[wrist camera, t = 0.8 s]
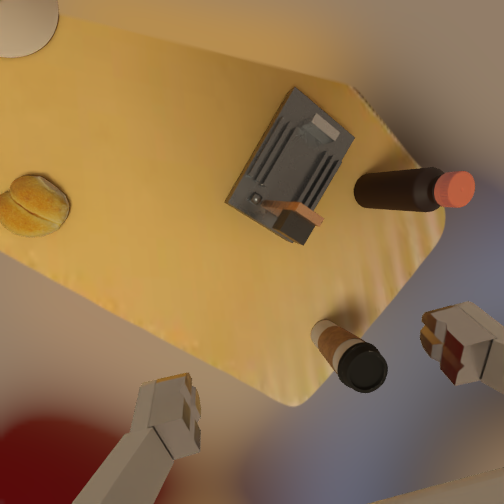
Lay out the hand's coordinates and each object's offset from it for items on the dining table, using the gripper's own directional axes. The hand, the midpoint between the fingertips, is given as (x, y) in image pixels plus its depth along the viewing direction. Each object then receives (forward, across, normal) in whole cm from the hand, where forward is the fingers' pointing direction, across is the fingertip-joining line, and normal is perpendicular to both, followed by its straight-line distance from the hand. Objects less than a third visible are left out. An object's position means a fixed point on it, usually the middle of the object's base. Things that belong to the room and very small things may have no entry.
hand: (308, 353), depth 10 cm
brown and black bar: (+40, -4, +12) cm, 42 cm away
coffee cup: (+38, -11, +40) cm, 56 cm away
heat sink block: (+46, -10, +6) cm, 48 cm away
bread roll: (+40, +30, +2) cm, 50 cm away
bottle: (+48, -26, +15) cm, 56 cm away
